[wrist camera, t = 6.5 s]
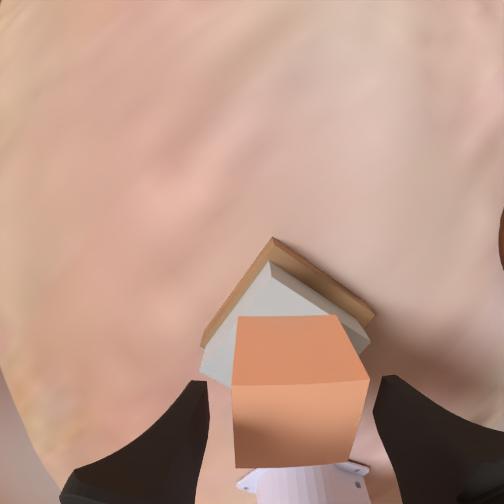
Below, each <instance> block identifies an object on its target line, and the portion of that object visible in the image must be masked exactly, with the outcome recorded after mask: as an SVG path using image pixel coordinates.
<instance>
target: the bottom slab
mask: <svg viewBox="0 0 504 504" xmlns="http://www.w3.org/2000/svg"><path fill="white" fill-rule="evenodd" d="M268 261H271V262H272V263H274V264H275V265H277V266H278V267H280V268H281V269H283V270H284V271H286V272H287V273H289V274H290V275H292V276H293V277H295V278H296V279H298V280H299V281H301V282H302V283H304V284H305V285H307V286H308V287H310V288H311V289H313V290H314V291H316V292H317V293H319V294H320V295H322V296H323V297H325V298H326V299H328V300H329V301H331V302H332V303H334V304H335V305H337V306H338V307H339V308H341V309H342V310H344V311H345V312H347V313H348V314H350V315H351V316H353V317H354V318H356V319H357V320H358V321H359V323H360V325H361V326H362V328H363V329H364V328H365V327H366V326H367V325H368V323H369V322H370V321H371V320H372V318H373V317H374V316H375V314H374V313H373V312H372V310H371V309H370V308H369V306H368V305H367V304H366V303H365V301H363V300H362V299H360V298H359V297H358V296H356V295H355V294H353V293H352V292H351V291H349V290H348V289H346V288H345V287H343V286H342V285H341V284H339V283H338V282H336V281H335V280H334V279H332V278H331V277H329V276H328V275H326V274H325V273H324V272H322V271H321V270H319V269H318V268H317V267H315V266H314V265H312V264H311V263H309V262H308V261H306V260H305V259H304V258H302V257H301V256H299V255H298V254H296V253H295V252H294V251H292V250H291V249H289V248H288V247H286V246H285V245H283V244H282V243H281V242H279V241H278V240H276V239H275V238H273V237H272V238H271V239H270V240H269V242H268V243H267V245H266V246H265V247H264V249H263V250H262V251H261V253H260V254H259V256H258V257H257V258H256V260H255V261H254V263H253V264H252V265H251V267H250V268H249V270H248V271H247V272H246V274H245V275H244V276H243V278H242V279H241V281H240V282H239V283H238V285H237V286H236V287H235V289H234V290H233V292H232V293H231V294H230V296H229V297H228V299H227V300H226V301H225V303H224V304H223V305H222V307H221V308H220V310H219V311H218V312H217V314H216V315H215V316H214V318H213V319H212V321H211V322H210V323H209V325H208V326H207V327H206V329H205V331H204V334H203V337H202V341H201V344H200V346H201V347H202V348H204V349H205V347H206V345H207V344H208V342H209V341H210V340H211V338H212V337H213V336H214V334H215V333H216V331H217V330H218V329H219V327H220V326H221V325H222V323H223V322H224V321H225V319H226V318H227V317H228V315H229V314H230V313H231V311H232V310H233V309H234V307H235V306H236V305H237V303H238V302H239V301H240V299H241V298H242V296H243V295H244V294H245V292H246V291H247V290H248V288H249V287H250V286H251V284H252V283H253V282H254V280H255V279H256V277H257V276H258V275H259V273H260V272H261V271H262V269H263V268H264V266H265V265H266V264H267V262H268Z"/></svg>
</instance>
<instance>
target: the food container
mask: <svg viewBox="0 0 504 504" xmlns="http://www.w3.org/2000/svg"><path fill="white" fill-rule="evenodd" d="M499 255H500V260H501V264H502V267H503V270H504V209H503V212H502V215H501V220H500V228H499Z"/></svg>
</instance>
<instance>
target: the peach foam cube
mask: <svg viewBox="0 0 504 504" xmlns="http://www.w3.org/2000/svg"><path fill="white" fill-rule="evenodd" d="M369 382H370V378H369V376H368V374H367V372H366V370H365V368H364V366H363V364H362V362H361V360H360V358H359V357H358V355H357V353H356V351H355V349H354V347H353V345H352V343H351V341H350V340H349V338H348V336H347V334H346V332H345V330H344V328H343V327H342V325H341V323H340V321H339V319H338V317H337V315H310V316H238V321H237V331H236V341H235V351H234V361H233V371H232V382H231V393H232V413H233V431H234V448H235V464H236V468H287V467H304V466H316V465H326V464H335V463H343V462H347V461H348V458H349V455H350V452H351V449H352V446H353V442H354V439H355V436H356V432H357V429H358V425H359V422H360V418H361V414H362V411H363V407H364V403H365V399H366V395H367V391H368V386H369Z"/></svg>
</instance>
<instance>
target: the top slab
mask: <svg viewBox="0 0 504 504" xmlns="http://www.w3.org/2000/svg"><path fill="white" fill-rule="evenodd" d="M310 315H337V317H338V319H339V321H340V323H341V325H342V327H343V328H344V330H345V332H346V334H347V336H348V338H349V340H350V341H351V343H352V345H353V347H354V349H355V351H356V353H357V355H358V356H359V355H360V354H361V353H362V352H363V351H364V350H365V348H366V347H367V346H368V345H369V344H370V343H371V340H370V339H369V337H368V336H367V334H366V332H365V331H364V329H363V328H362V326H361V325H360V323H359V321H358V320H357V319H356V318H354V317H353V316H351V315H350V314H348V313H347V312H345V311H344V310H342V309H341V308H339V307H338V306H337V305H335V304H334V303H332V302H331V301H329V300H328V299H326V298H325V297H323V296H322V295H320V294H319V293H317V292H316V291H314V290H313V289H311V288H310V287H308V286H307V285H305V284H304V283H302V282H301V281H299V280H298V279H296V278H295V277H293V276H292V275H290V274H289V273H287V272H286V271H284V270H283V269H281V268H280V267H278V266H277V265H275V264H274V263H272V262H271V261H268V262H267V264H266V265H265V266H264V268H263V269H262V271H261V272H260V273H259V275H258V276H257V277H256V279H255V280H254V282H253V283H252V284H251V286H250V287H249V288H248V290H247V291H246V292H245V294H244V295H243V296H242V298H241V299H240V301H239V302H238V303H237V305H236V306H235V307H234V309H233V310H232V311H231V313H230V314H229V315H228V317H227V318H226V319H225V321H224V322H223V323H222V325H221V326H220V327H219V329H218V330H217V331H216V333H215V334H214V336H213V337H212V338H211V340H210V341H209V342H208V344H207V345H206V347H205V351H204V355H203V358H202V362H201V366H200V370H199V371H200V372H201V373H203V374H205V375H207V376H209V377H210V378H212V379H214V380H216V381H218V382H220V383H221V384H223V385H225V386H227V387H229V388H231V382H232V371H233V361H234V351H235V341H236V331H237V321H238V316H310Z"/></svg>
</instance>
